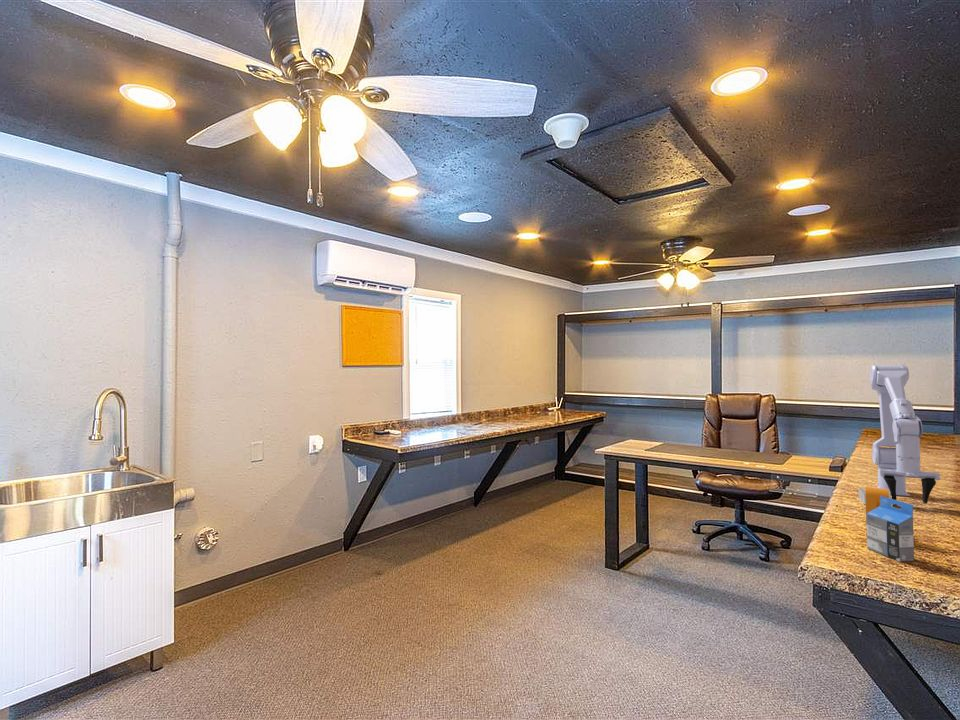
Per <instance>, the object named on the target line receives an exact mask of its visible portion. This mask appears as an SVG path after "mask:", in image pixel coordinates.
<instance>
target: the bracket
mask: <svg viewBox="0 0 960 720" xmlns="http://www.w3.org/2000/svg"><path fill="white" fill-rule="evenodd" d="M865 491H866V505H865V515H866V514H867V513H868V512H870V511H872V510H874V509H876V508H877V507H879V506H880V496H883V497H887V498H889V489H881V488H878V487H877V488H875V487H870V486H869V487H868V486H865ZM865 526H866V528H865V529H866V535H867V525H866V524H865Z"/></svg>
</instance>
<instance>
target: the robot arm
mask: <svg viewBox="0 0 960 720" xmlns="http://www.w3.org/2000/svg"><path fill="white" fill-rule="evenodd" d="M909 378H910V372H909V367H908V366H907V365H906V364H883V365H881V364H879V365H878V364H877V365H876V364H872V365H871V366H870V368H869V382H870V388H871V389H872V390H874V391H876V392H877V395H878V406H879V417H880V431H881V432H880V434H881V437H880V438H879V439H877V440H876V441H874V442H873V444H872V449H871V450H872V451H871V458H872V462H873V464H875V466H878V468H877V469H878V470H877V487H874V488H881V489H889V493H890V495H891V499H894V500H897V499H898V498H897V496H903V497H910V496H911V495H910V494H909V493H908V492H907V490H906V489H907V487H906V478H907V479H908V478H909V479H920V482H921V490H922V494H921V495H922V499H921V501H922V503H924V504H928V501H929V497H930V494H931V492H932V490H933V489H934V487H935V486H936V484H937V481H940V480H941V475H940V473H938V472H930V471H921V450H920V449H921V446H920V445H921V443H920V441H921V440H920V438H921V437H922V436H923V424H922V423H923V422H922V420H921V419H920V418H919V416H917V415H916V414H915V413H916V412H915V410H914V407H913V403H912V402H911V401H910V400H909V399H906V392H905V386H906V385H907V382H908V381H909Z"/></svg>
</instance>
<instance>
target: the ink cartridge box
mask: <svg viewBox="0 0 960 720" xmlns="http://www.w3.org/2000/svg"><path fill="white" fill-rule="evenodd" d="M891 504H892V505H897V506H898V507H900V508H897V507H894V506H893V507H891ZM866 525H867V534H866V545H867V547H866V548H867V549H868V550H870V551H873V552H874V553H875V552H876V553H877V554H880V555H883V556H885V557H888V558H890V559H892V560H894V561H897V562H900V563H908V562H909V563H910V562H911V563H912V562H914V561H915V545H914V544H915V542H914V538H915V537H914V504H912V503H911V504H910V503H908V502H903V501H900V500H897V499H896V500H894V499H892V498H891V499H890V498H887V497H883V496H880V506H879V507H877V508H876V509H874V510H872V511H870V512H868V513H867V514H866V513H865V526H866Z"/></svg>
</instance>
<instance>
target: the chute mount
mask: <svg viewBox="0 0 960 720" xmlns="http://www.w3.org/2000/svg"><path fill="white" fill-rule="evenodd" d="M858 499H859V500H860V501H862V502H863V503H864V504H865V505H864V504H863V503H862V502H861V503H862V504H863V505H864V506H866V489H865V488H863V487H858ZM891 507H894V506H893V504H891Z"/></svg>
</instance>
